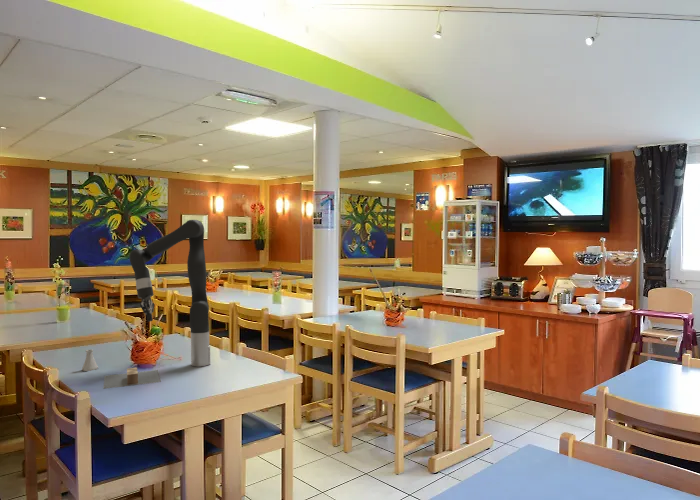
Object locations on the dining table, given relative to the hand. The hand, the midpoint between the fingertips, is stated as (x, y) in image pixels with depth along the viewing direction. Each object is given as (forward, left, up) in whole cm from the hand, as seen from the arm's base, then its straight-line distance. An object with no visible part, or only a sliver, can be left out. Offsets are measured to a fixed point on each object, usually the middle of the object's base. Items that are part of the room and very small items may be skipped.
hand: (150, 321), depth 259 cm
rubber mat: (+9, +18, -24) cm, 31 cm away
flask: (+28, -10, -24) cm, 39 cm away
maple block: (+9, +15, -21) cm, 28 cm away
